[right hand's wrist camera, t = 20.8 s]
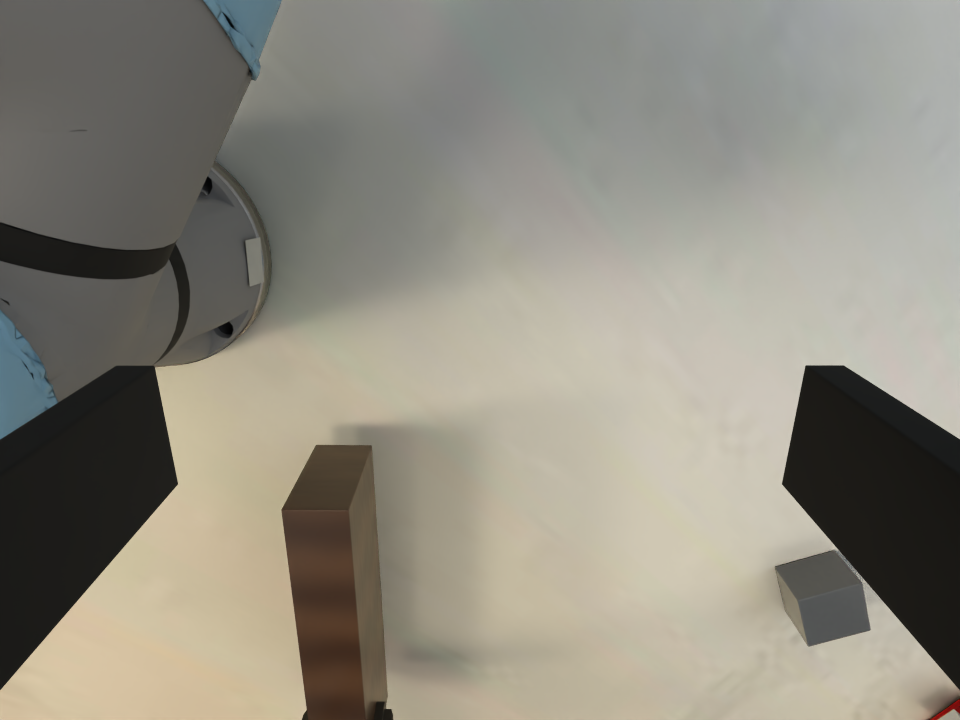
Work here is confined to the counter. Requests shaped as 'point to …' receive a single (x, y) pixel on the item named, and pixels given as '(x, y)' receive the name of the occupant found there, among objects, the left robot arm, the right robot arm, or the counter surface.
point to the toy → (949, 712)
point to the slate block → (823, 598)
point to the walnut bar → (337, 583)
